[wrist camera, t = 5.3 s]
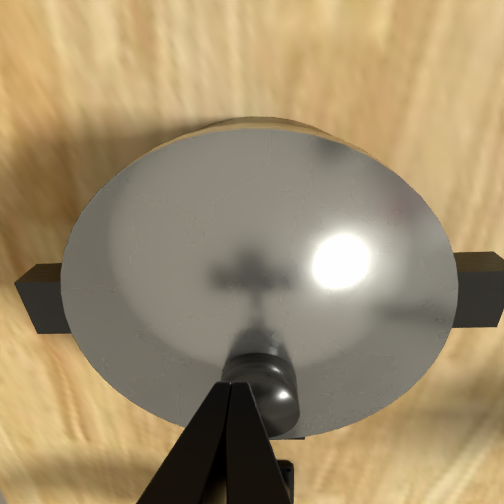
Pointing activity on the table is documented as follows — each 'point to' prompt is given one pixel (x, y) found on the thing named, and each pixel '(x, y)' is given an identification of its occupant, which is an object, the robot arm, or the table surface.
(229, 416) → the robot arm
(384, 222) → the lid
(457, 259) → the pot
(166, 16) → the table surface
